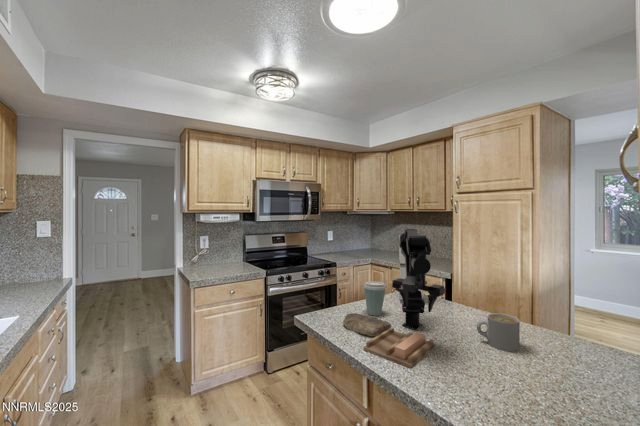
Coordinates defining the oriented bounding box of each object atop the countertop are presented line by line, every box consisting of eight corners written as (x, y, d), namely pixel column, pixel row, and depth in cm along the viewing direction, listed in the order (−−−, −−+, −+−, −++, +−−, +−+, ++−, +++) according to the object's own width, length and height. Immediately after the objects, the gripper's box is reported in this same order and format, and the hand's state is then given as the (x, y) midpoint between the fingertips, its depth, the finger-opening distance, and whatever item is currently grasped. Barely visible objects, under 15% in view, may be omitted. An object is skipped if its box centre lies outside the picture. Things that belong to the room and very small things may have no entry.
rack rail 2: (431, 343, 109) (431, 338, 109) (433, 344, 108) (433, 339, 108) (408, 362, 95) (407, 357, 95) (410, 363, 95) (410, 358, 95)
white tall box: (420, 298, 165) (420, 235, 164) (422, 304, 154) (422, 237, 154) (399, 297, 167) (399, 235, 167) (400, 303, 157) (399, 237, 156)
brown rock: (335, 326, 129) (372, 340, 114) (335, 314, 129) (372, 327, 114) (356, 318, 138) (393, 330, 123) (356, 308, 138) (393, 318, 123)
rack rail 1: (391, 331, 120) (391, 327, 120) (394, 331, 119) (394, 327, 119) (366, 346, 106) (366, 342, 106) (368, 347, 106) (368, 343, 106)
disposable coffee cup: (363, 309, 148) (363, 279, 148) (385, 310, 147) (385, 279, 147) (363, 317, 138) (363, 284, 138) (387, 318, 136) (387, 285, 136)
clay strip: (416, 339, 112) (416, 331, 112) (425, 342, 109) (425, 334, 109) (394, 355, 100) (394, 346, 100) (404, 359, 97) (404, 350, 97)
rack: (392, 332, 121) (392, 330, 121) (436, 346, 108) (436, 343, 108) (363, 350, 106) (363, 347, 106) (410, 368, 94) (410, 365, 94)
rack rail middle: (410, 336, 114) (410, 332, 114) (412, 337, 113) (412, 333, 113) (386, 354, 101) (386, 349, 101) (388, 355, 100) (388, 350, 100)
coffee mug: (520, 343, 110) (520, 316, 109) (518, 354, 102) (518, 325, 102) (479, 334, 118) (479, 309, 118) (475, 343, 110) (474, 317, 110)
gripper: (384, 268, 113) (384, 309, 113) (433, 275, 100) (433, 321, 101) (399, 264, 121) (399, 302, 121) (445, 270, 108) (445, 312, 109)
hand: (417, 309), depth 113 cm, fingers open, 9 cm apart
